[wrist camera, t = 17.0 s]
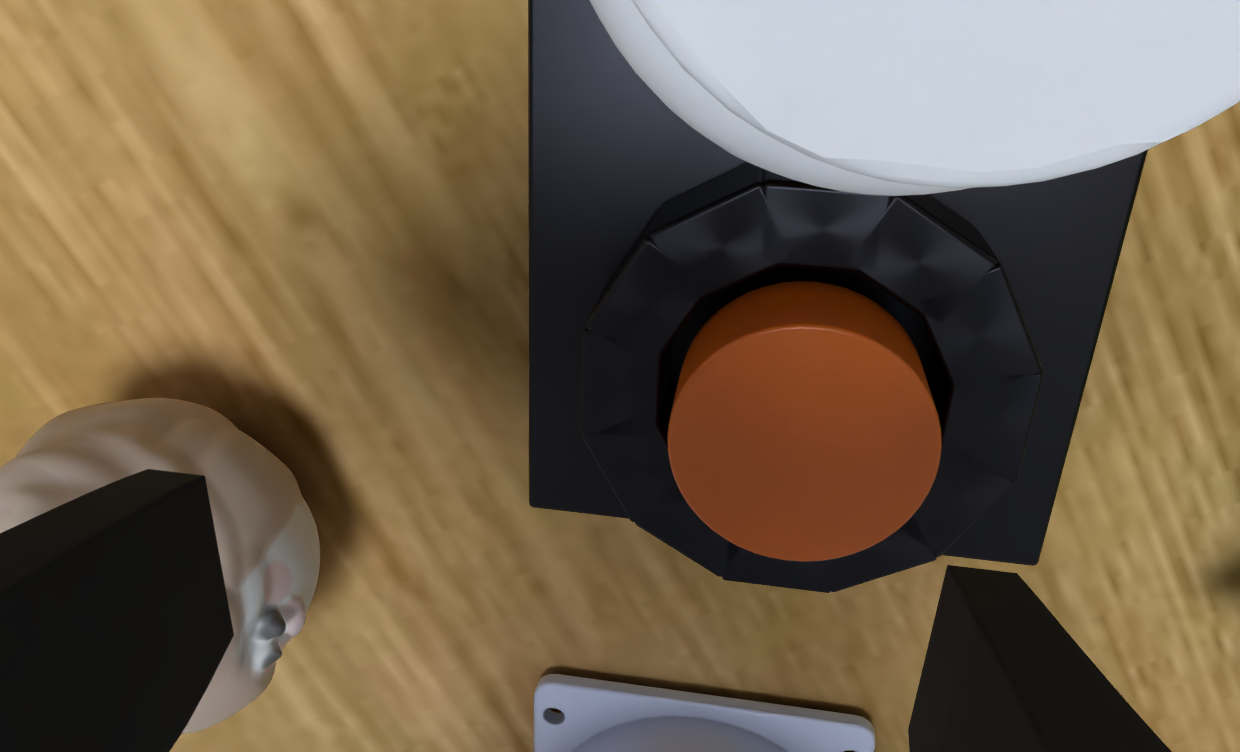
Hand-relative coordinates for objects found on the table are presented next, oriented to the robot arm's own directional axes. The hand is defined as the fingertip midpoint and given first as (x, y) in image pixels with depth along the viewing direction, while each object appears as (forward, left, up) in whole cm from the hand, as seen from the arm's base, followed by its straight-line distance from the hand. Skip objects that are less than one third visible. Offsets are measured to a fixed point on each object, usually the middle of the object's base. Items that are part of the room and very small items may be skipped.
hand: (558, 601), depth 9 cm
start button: (0, -2, -6) cm, 6 cm away
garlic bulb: (-6, +10, -11) cm, 16 cm away
